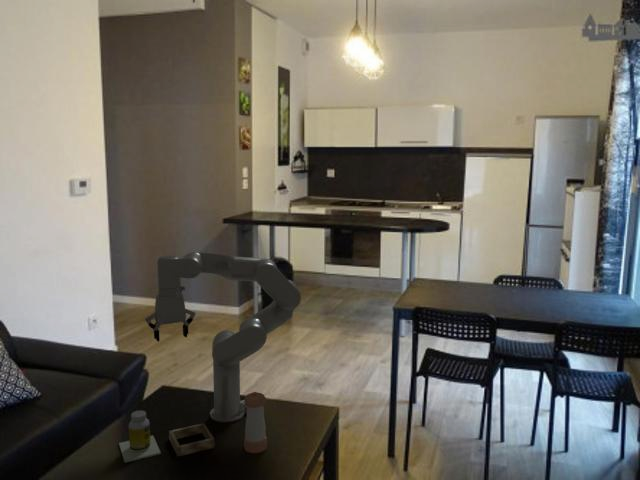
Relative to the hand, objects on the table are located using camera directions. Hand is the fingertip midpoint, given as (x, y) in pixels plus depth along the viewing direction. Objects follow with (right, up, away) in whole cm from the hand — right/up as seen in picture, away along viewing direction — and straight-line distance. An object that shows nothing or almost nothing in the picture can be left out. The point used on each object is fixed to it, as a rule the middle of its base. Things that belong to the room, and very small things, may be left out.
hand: (171, 338), depth 194 cm
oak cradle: (+10, -33, -12) cm, 36 cm away
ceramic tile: (-6, -33, -16) cm, 37 cm away
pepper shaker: (+32, -33, -14) cm, 48 cm away
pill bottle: (-6, -33, -16) cm, 37 cm away
